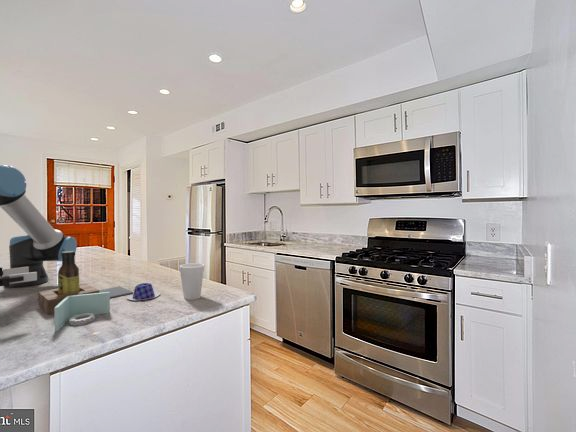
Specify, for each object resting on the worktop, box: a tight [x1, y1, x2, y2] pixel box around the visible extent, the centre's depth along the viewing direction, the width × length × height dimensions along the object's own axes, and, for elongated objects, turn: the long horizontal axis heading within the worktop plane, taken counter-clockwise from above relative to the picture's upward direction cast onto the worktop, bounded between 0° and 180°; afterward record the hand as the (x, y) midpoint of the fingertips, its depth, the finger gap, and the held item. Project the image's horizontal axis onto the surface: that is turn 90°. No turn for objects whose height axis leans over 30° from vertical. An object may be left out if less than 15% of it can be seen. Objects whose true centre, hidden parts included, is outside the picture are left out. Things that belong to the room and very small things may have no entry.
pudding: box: [126, 282, 161, 301], centre depth 116 cm, size 12×12×5 cm
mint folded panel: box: [54, 292, 111, 332], centre depth 91 cm, size 12×12×8 cm
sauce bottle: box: [57, 251, 80, 296], centre depth 106 cm, size 6×6×20 cm
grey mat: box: [98, 285, 134, 299], centre depth 120 cm, size 14×12×1 cm
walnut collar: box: [37, 283, 100, 316], centre depth 106 cm, size 15×15×5 cm
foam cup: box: [179, 262, 205, 301], centre depth 115 cm, size 10×9×13 cm
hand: (32, 273), depth 98 cm, fingers open, 13 cm apart
